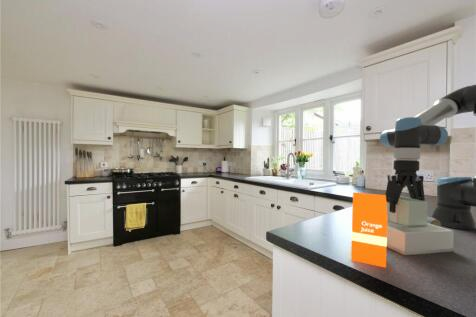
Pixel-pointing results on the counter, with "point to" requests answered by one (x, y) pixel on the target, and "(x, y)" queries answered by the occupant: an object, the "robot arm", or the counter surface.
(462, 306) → the counter surface
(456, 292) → the counter surface
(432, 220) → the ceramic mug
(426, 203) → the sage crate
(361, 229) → the orange juice
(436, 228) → the grey crate
